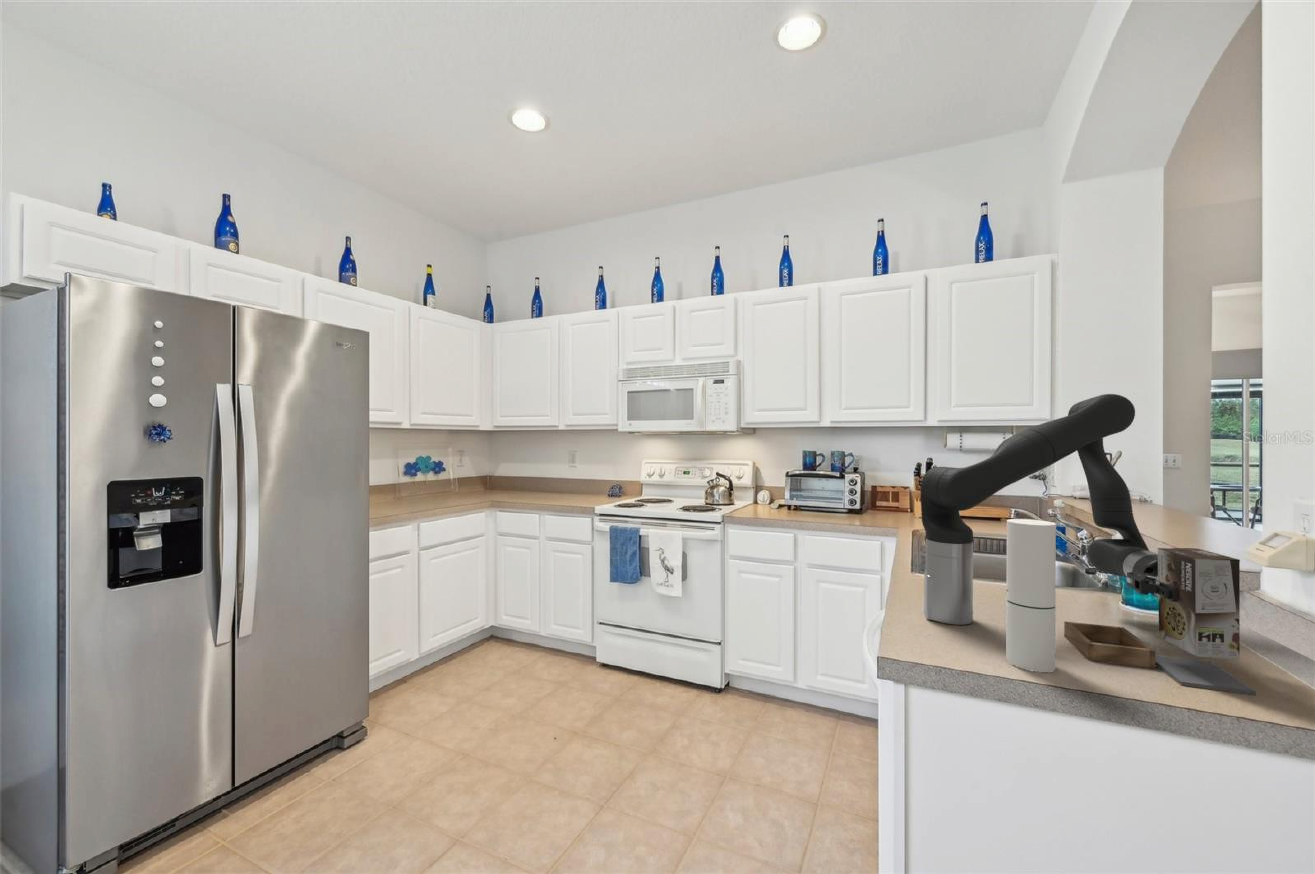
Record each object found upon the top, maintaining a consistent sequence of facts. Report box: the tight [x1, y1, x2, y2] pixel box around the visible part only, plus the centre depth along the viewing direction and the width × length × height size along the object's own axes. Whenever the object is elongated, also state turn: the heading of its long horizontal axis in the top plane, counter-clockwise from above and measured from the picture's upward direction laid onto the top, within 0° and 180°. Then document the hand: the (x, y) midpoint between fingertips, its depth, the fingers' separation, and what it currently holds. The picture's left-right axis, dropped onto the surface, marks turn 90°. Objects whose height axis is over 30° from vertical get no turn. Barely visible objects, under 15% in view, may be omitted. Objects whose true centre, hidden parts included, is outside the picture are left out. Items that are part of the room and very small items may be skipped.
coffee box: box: [1157, 547, 1241, 660], centre depth 92 cm, size 9×6×16 cm
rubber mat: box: [1155, 654, 1256, 696], centre depth 92 cm, size 9×12×1 cm
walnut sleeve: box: [1063, 620, 1157, 669], centre depth 102 cm, size 10×13×3 cm
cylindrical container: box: [1005, 518, 1057, 673], centre depth 97 cm, size 7×7×25 cm
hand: (1204, 598), depth 90 cm, fingers closed on coffee box, 7 cm apart
